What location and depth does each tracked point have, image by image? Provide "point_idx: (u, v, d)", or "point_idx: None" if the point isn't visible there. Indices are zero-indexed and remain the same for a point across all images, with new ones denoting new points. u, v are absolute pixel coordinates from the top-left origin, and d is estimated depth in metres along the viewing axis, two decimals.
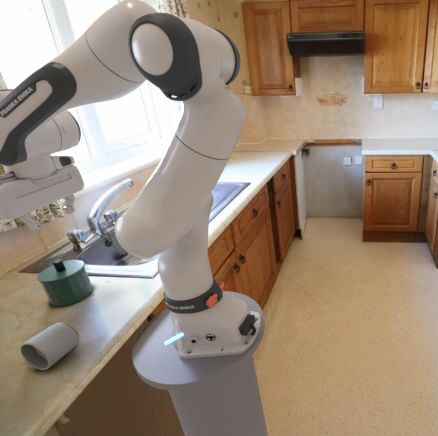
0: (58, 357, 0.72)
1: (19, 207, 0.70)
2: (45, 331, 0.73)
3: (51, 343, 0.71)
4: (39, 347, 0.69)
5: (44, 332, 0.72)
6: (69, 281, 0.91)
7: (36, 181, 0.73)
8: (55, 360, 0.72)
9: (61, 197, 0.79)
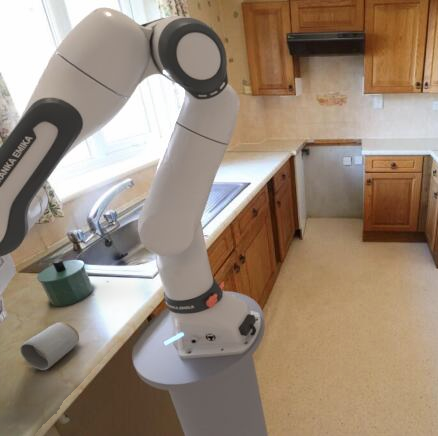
0: (58, 357, 0.72)
1: None
2: (45, 331, 0.73)
3: (51, 343, 0.71)
4: (39, 347, 0.69)
5: (44, 332, 0.72)
6: (69, 281, 0.91)
7: None
8: (55, 360, 0.72)
9: (3, 289, 0.60)
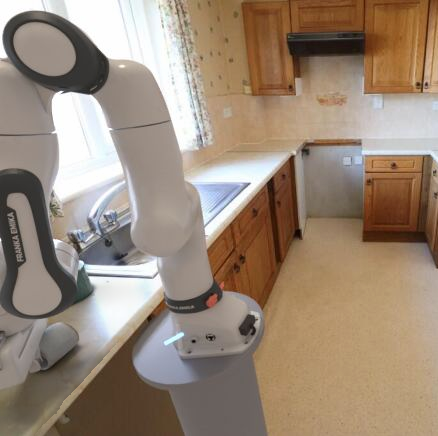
0: (58, 357, 0.72)
1: (23, 367, 0.60)
2: (45, 331, 0.73)
3: (51, 343, 0.71)
4: None
5: (44, 332, 0.72)
6: None
7: (26, 331, 0.63)
8: (55, 360, 0.72)
9: (40, 338, 0.69)
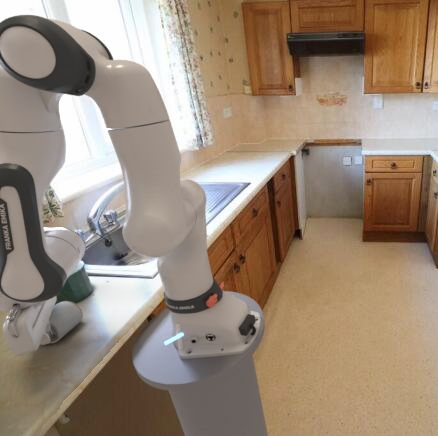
0: (66, 331, 0.80)
1: (36, 336, 0.67)
2: None
3: (60, 318, 0.78)
4: None
5: None
6: (69, 281, 0.91)
7: (38, 305, 0.70)
8: (64, 333, 0.79)
9: (50, 314, 0.76)
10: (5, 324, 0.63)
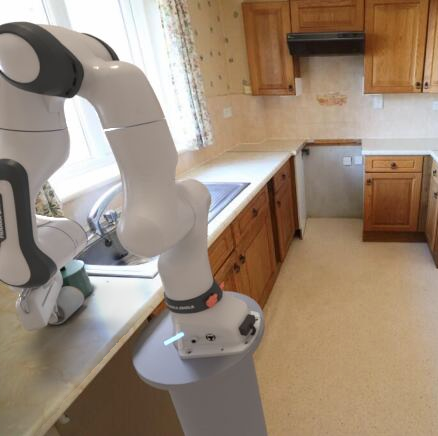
0: (71, 312, 0.86)
1: (45, 314, 0.74)
2: None
3: (65, 300, 0.85)
4: None
5: None
6: (69, 281, 0.91)
7: (47, 286, 0.76)
8: (69, 314, 0.86)
9: (57, 295, 0.82)
10: (17, 301, 0.70)
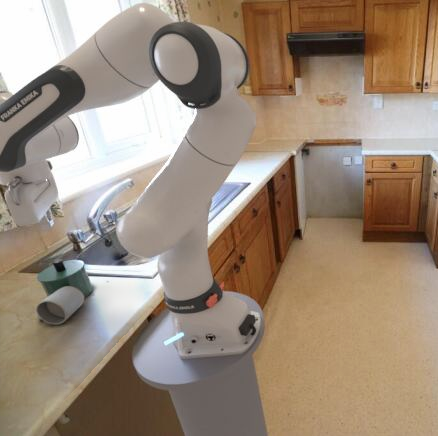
0: (71, 312, 0.86)
1: (38, 211, 0.68)
2: (56, 292, 0.86)
3: (65, 300, 0.85)
4: (57, 302, 0.83)
5: (56, 293, 0.86)
6: (69, 281, 0.91)
7: (40, 185, 0.71)
8: (69, 314, 0.86)
9: (52, 203, 0.77)
10: (7, 191, 0.64)
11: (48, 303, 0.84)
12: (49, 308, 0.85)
